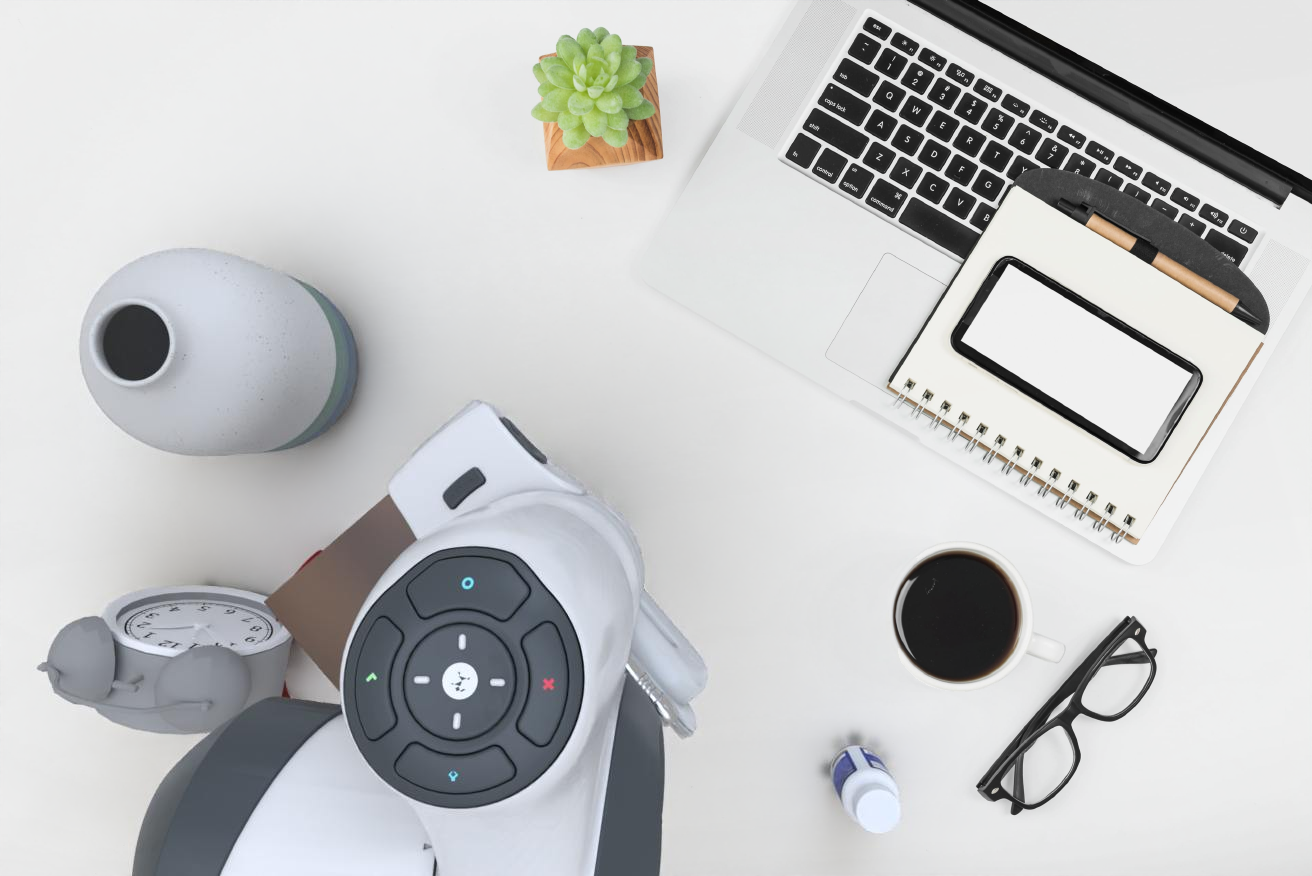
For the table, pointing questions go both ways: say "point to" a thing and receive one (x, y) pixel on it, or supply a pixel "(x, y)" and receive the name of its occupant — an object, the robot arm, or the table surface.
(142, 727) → the alarm clock
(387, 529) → the cabinet
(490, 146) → the table surface
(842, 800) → the pill bottle
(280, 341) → the vase
